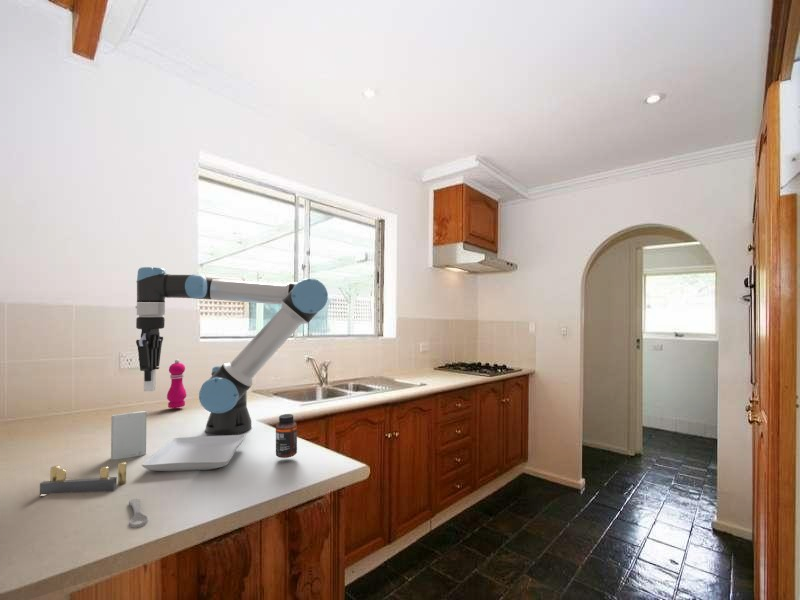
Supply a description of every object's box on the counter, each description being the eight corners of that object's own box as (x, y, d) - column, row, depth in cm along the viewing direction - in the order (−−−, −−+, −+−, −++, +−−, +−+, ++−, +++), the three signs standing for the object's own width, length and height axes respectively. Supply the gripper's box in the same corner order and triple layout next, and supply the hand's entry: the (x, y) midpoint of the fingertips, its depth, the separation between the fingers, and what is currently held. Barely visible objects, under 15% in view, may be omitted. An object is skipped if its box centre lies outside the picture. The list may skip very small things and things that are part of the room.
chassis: (127, 482, 94) (127, 461, 94) (115, 492, 89) (116, 470, 89) (53, 486, 92) (53, 465, 92) (37, 497, 87) (37, 474, 87)
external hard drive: (146, 454, 111) (146, 411, 112) (110, 461, 107) (111, 416, 107) (146, 453, 113) (146, 410, 113) (111, 459, 108) (111, 414, 108)
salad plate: (246, 444, 121) (246, 433, 121) (228, 473, 100) (228, 459, 100) (173, 448, 118) (173, 436, 118) (139, 479, 97) (139, 465, 97)
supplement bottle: (295, 449, 116) (296, 412, 116) (298, 457, 110) (298, 417, 110) (274, 452, 114) (275, 413, 114) (276, 460, 108) (276, 419, 108)
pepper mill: (180, 408, 161) (180, 360, 161) (162, 408, 161) (163, 360, 161) (189, 404, 168) (190, 358, 168) (173, 403, 168) (173, 358, 168)
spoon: (130, 533, 74) (130, 523, 74) (125, 508, 83) (125, 498, 83) (148, 528, 76) (148, 517, 76) (142, 503, 85) (142, 494, 85)
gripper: (147, 315, 128) (146, 386, 128) (126, 316, 115) (125, 396, 115) (172, 315, 129) (171, 386, 129) (154, 316, 116) (152, 395, 116)
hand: (149, 390), depth 122 cm, fingers closed
